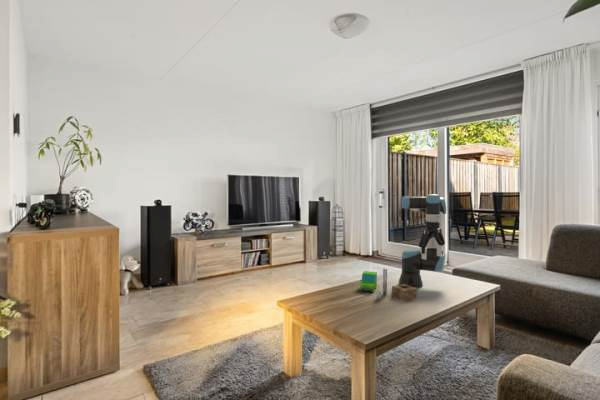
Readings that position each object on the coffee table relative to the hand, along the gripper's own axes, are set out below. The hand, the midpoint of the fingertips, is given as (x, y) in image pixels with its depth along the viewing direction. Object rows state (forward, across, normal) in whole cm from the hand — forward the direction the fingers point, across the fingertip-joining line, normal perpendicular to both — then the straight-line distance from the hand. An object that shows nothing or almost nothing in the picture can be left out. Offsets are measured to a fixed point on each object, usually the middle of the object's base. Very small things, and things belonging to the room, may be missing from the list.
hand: (431, 257), depth 196 cm
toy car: (+25, -19, +32) cm, 45 cm away
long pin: (+24, -18, +19) cm, 36 cm away
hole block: (+24, -11, +10) cm, 29 cm away
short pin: (+24, -28, +14) cm, 40 cm away
